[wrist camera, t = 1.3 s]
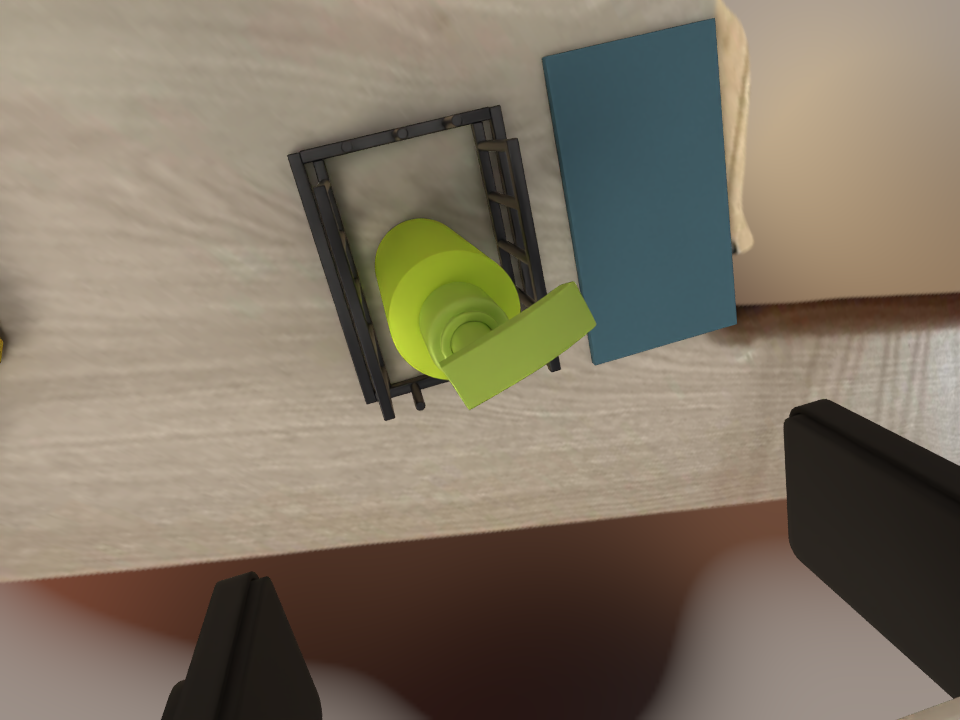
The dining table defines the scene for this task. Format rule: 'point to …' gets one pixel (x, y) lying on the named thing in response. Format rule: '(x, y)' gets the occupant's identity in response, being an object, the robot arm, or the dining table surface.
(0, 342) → the knife
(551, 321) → the soap dispenser
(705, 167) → the drying mat
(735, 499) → the dining table surface
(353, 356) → the dish rack
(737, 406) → the dining table surface
